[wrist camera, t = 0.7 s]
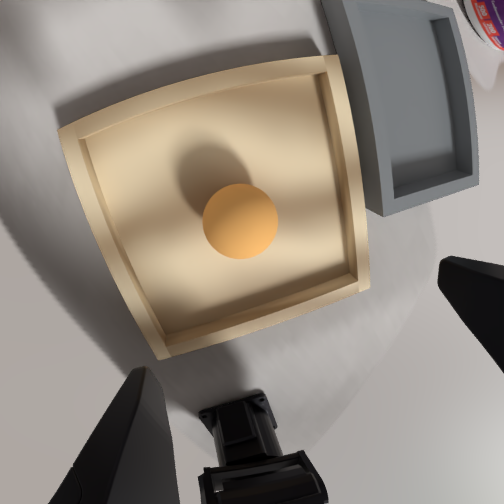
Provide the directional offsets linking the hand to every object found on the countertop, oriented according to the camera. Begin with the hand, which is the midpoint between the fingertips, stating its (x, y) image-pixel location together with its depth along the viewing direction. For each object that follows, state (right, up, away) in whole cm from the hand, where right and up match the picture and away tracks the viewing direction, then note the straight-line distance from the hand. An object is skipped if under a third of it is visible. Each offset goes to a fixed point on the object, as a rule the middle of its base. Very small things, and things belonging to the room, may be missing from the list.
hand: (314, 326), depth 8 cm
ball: (-3, +4, +10) cm, 11 cm away
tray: (+10, +13, +10) cm, 19 cm away
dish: (-3, +5, +11) cm, 12 cm away
